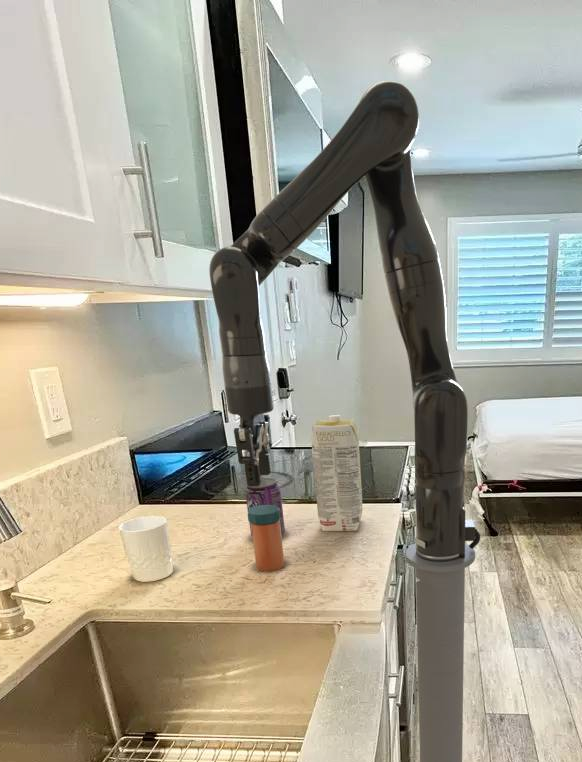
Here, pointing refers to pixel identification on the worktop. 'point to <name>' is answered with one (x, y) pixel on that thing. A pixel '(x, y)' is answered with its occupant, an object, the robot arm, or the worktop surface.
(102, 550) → the worktop surface
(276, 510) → the jar lid
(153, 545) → the white cup
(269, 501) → the beverage can
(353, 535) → the worktop surface
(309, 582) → the worktop surface
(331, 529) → the juice carton
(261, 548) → the jam jar
